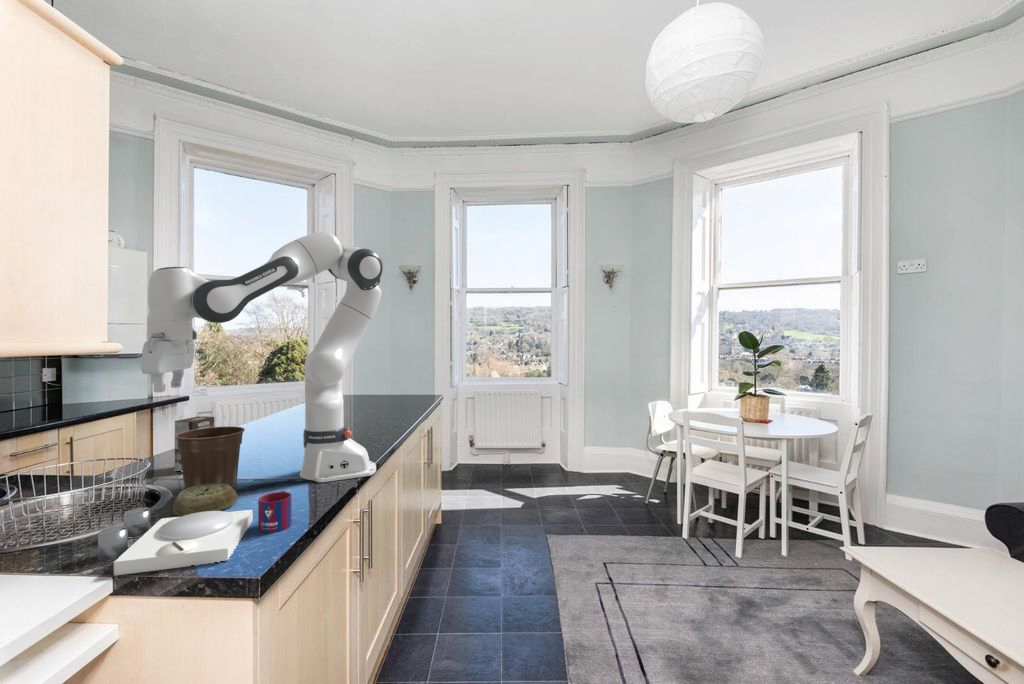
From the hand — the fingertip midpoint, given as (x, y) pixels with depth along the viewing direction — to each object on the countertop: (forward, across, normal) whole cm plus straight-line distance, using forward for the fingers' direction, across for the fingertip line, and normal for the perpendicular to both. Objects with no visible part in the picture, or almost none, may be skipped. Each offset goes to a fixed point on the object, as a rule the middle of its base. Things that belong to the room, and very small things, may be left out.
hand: (168, 389), depth 111 cm
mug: (+29, -15, -28) cm, 43 cm away
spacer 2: (+30, -13, 0) cm, 33 cm away
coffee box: (+30, +38, +6) cm, 49 cm away
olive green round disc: (+30, 0, -9) cm, 31 cm away
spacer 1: (+30, -23, 0) cm, 38 cm away
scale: (+30, -22, -13) cm, 39 cm away
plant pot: (+30, +15, -6) cm, 34 cm away
